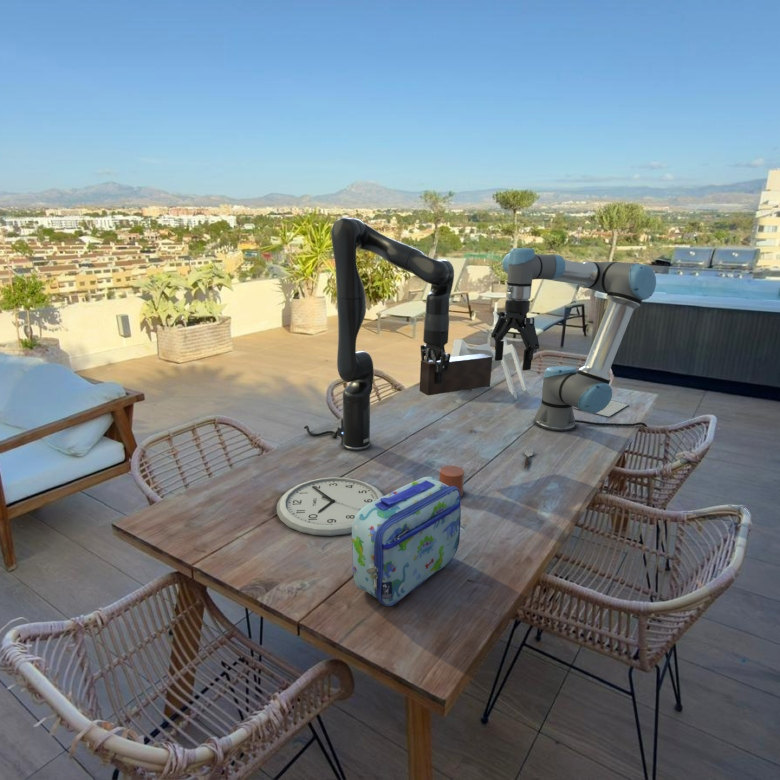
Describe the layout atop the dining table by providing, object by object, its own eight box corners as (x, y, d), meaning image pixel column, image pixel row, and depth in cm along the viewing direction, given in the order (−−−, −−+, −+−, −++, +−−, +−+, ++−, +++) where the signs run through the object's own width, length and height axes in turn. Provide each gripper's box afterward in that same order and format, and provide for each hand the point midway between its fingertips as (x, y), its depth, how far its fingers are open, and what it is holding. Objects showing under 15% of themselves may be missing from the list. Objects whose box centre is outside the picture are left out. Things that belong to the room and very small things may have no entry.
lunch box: (381, 619, 101) (382, 525, 95) (345, 592, 109) (344, 503, 102) (464, 563, 119) (469, 480, 113) (428, 543, 126) (432, 464, 120)
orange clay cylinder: (462, 487, 154) (464, 466, 152) (463, 499, 147) (464, 477, 145) (438, 486, 154) (439, 464, 152) (438, 497, 148) (439, 475, 146)
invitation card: (608, 416, 214) (573, 407, 224) (608, 416, 214) (573, 408, 224) (628, 404, 229) (594, 396, 238) (628, 405, 229) (594, 397, 238)
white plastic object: (461, 429, 252) (437, 405, 227) (444, 352, 274) (420, 323, 250) (535, 404, 240) (518, 377, 215) (510, 326, 262) (492, 293, 237)
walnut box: (480, 382, 176) (483, 353, 173) (490, 386, 172) (492, 356, 169) (419, 391, 165) (420, 360, 162) (427, 395, 161) (429, 364, 158)
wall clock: (392, 527, 129) (268, 531, 127) (391, 533, 130) (269, 537, 127) (383, 473, 158) (282, 475, 155) (383, 478, 158) (282, 480, 156)
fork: (520, 469, 166) (521, 463, 165) (526, 450, 180) (526, 444, 180) (528, 470, 165) (529, 464, 164) (533, 451, 179) (534, 445, 179)
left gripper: (413, 324, 163) (411, 376, 168) (438, 332, 151) (435, 389, 156) (434, 322, 166) (431, 374, 171) (460, 331, 154) (456, 386, 159)
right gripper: (483, 295, 172) (479, 357, 179) (537, 305, 151) (529, 375, 158) (501, 294, 176) (496, 355, 182) (556, 303, 155) (548, 372, 161)
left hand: (433, 381), depth 163 cm, fingers closed on walnut box, 5 cm apart
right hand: (512, 365), depth 170 cm, fingers open, 13 cm apart
